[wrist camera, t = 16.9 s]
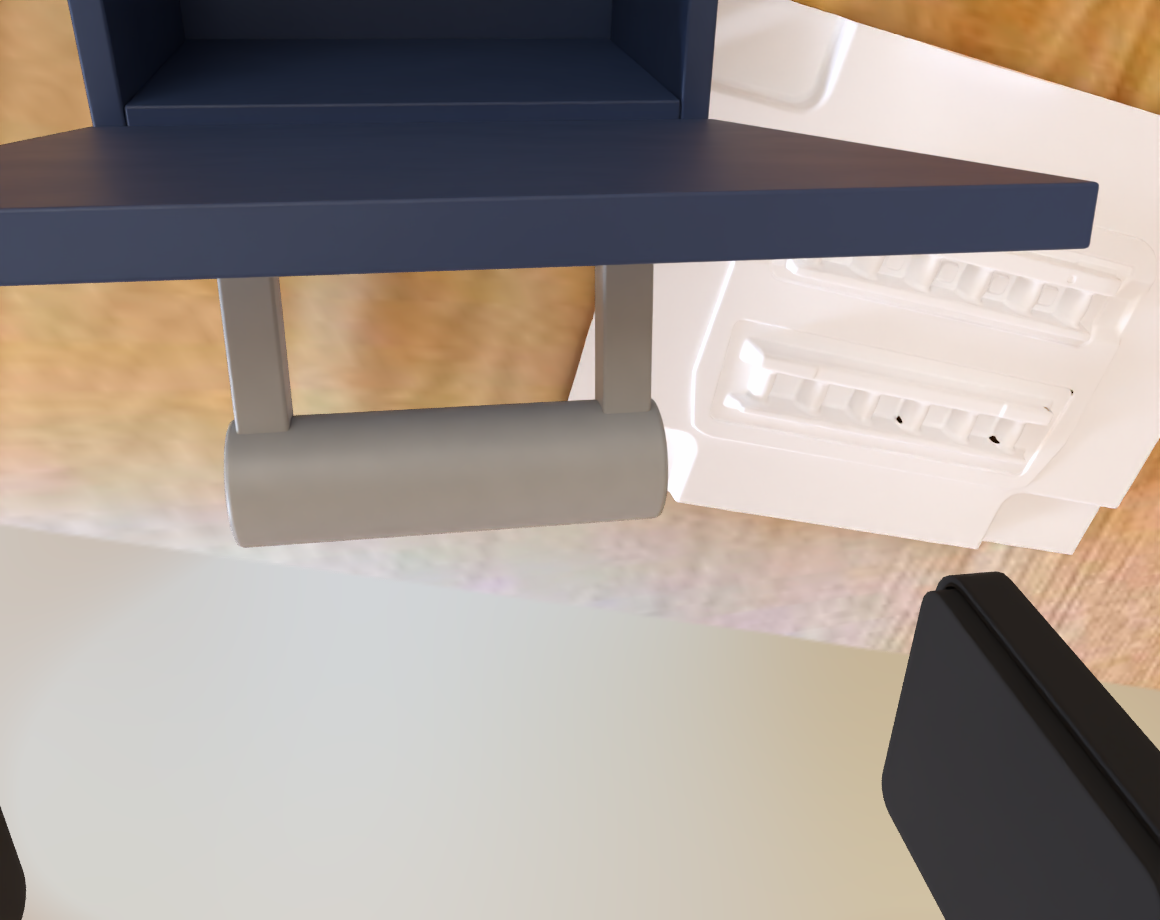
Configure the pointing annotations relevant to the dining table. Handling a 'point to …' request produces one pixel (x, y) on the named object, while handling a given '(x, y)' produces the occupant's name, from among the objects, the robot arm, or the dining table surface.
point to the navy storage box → (393, 60)
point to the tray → (916, 311)
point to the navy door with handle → (476, 242)
